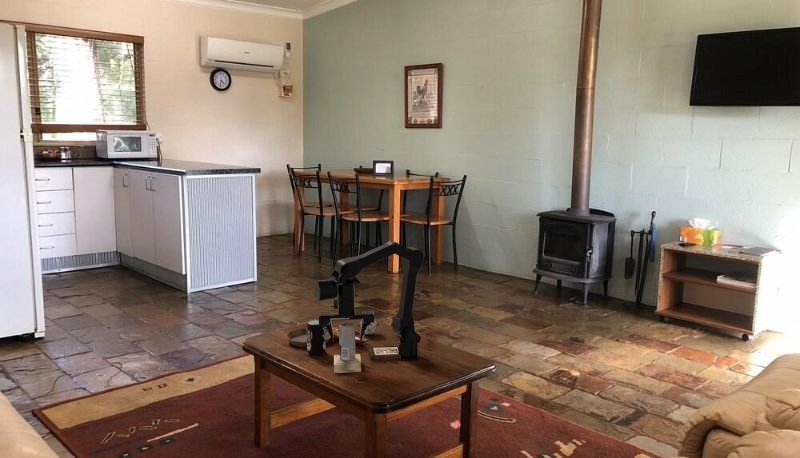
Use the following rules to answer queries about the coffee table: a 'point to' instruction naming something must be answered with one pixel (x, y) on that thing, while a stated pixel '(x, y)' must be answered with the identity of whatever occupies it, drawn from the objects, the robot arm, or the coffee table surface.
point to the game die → (370, 327)
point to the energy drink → (347, 341)
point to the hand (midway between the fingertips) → (347, 341)
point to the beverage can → (315, 338)
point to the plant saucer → (302, 337)
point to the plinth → (347, 364)
